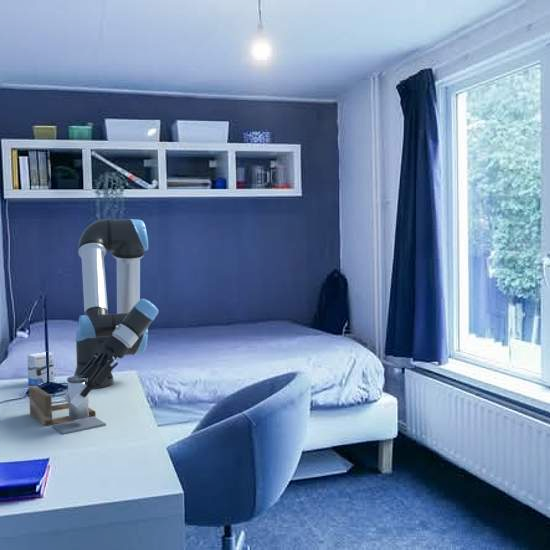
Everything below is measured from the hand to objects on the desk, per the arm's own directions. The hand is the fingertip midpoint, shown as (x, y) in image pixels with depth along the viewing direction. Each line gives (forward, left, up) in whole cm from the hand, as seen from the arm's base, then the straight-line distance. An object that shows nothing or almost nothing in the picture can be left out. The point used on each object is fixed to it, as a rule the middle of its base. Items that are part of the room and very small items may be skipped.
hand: (69, 402), depth 183 cm
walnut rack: (-3, -15, -8) cm, 17 cm away
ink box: (-11, -63, -8) cm, 64 cm away
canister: (-3, 0, -5) cm, 6 cm away
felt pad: (-3, 0, -8) cm, 8 cm away
